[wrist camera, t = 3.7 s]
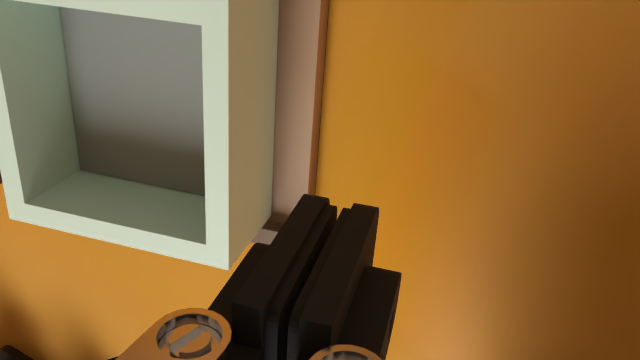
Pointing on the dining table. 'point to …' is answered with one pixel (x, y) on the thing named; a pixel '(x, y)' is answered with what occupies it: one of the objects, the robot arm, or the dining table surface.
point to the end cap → (12, 354)
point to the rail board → (296, 107)
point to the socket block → (141, 121)
